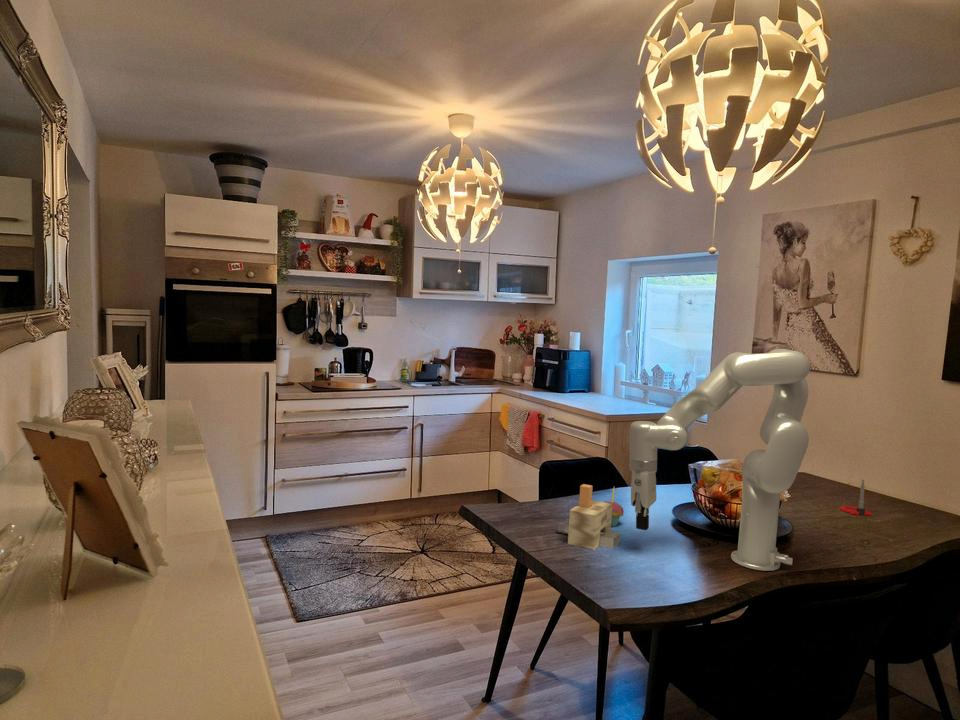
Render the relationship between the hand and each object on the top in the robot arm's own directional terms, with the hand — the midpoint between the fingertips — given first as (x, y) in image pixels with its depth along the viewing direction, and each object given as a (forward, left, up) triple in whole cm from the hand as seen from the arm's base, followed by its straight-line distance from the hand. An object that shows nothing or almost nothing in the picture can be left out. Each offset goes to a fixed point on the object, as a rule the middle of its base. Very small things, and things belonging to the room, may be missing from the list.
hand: (642, 528), depth 179 cm
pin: (+17, 0, -7) cm, 18 cm away
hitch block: (+15, +1, -7) cm, 17 cm away
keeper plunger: (+17, +1, +2) cm, 17 cm away
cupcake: (+15, -17, -7) cm, 24 cm away
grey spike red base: (-53, -89, -7) cm, 104 cm away
